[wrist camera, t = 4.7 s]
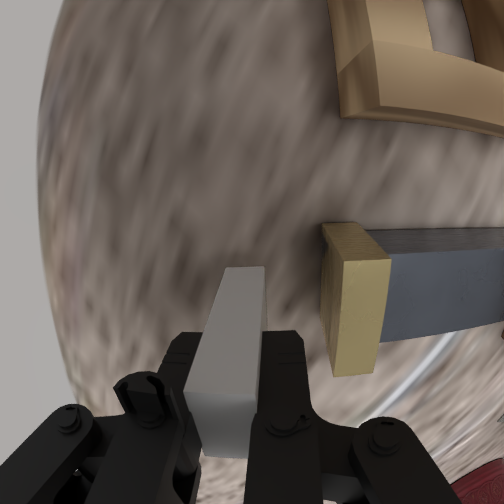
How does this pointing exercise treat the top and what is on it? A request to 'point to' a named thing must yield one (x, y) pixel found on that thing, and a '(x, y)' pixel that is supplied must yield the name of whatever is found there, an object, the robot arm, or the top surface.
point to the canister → (482, 485)
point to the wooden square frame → (418, 66)
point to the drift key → (404, 287)
